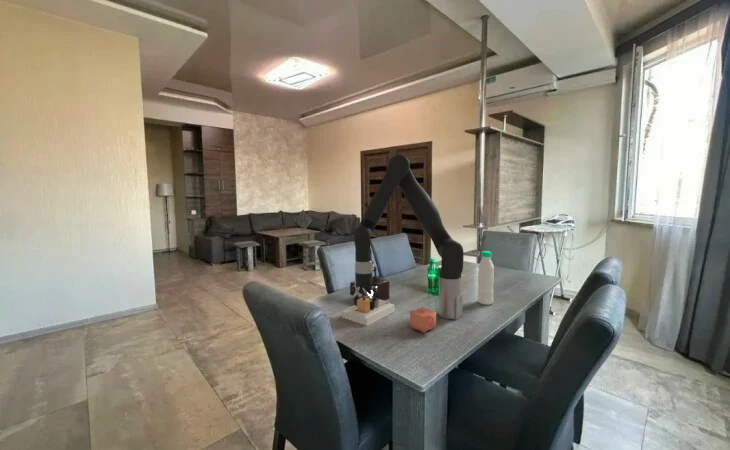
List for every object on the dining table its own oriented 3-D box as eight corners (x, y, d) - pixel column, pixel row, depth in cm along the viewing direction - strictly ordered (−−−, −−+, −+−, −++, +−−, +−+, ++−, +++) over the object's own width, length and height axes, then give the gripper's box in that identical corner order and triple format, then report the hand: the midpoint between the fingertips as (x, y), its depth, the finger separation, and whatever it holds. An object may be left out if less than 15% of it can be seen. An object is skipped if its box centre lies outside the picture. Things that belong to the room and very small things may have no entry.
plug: (371, 314, 142) (371, 295, 141) (365, 317, 138) (364, 298, 137) (363, 312, 144) (363, 293, 143) (357, 315, 141) (356, 296, 140)
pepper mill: (391, 298, 165) (390, 263, 163) (375, 303, 158) (374, 267, 156) (370, 291, 177) (370, 258, 175) (355, 295, 169) (354, 262, 168)
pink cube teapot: (416, 321, 135) (416, 302, 134) (440, 330, 126) (440, 310, 125) (403, 327, 130) (403, 307, 129) (428, 336, 121) (428, 315, 120)
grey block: (386, 303, 148) (386, 295, 148) (377, 308, 143) (377, 299, 142) (374, 300, 152) (374, 292, 152) (365, 304, 147) (365, 296, 147)
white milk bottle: (476, 304, 154) (477, 252, 152) (478, 299, 161) (479, 249, 158) (492, 306, 151) (493, 253, 149) (493, 301, 157) (495, 250, 155)
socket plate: (394, 311, 147) (394, 303, 147) (367, 325, 131) (366, 316, 131) (370, 304, 156) (370, 297, 155) (341, 317, 140) (341, 309, 140)
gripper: (345, 270, 141) (346, 306, 142) (371, 275, 132) (372, 313, 133) (356, 267, 146) (357, 301, 148) (382, 271, 138) (382, 308, 139)
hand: (364, 307), depth 141 cm, fingers open, 8 cm apart
